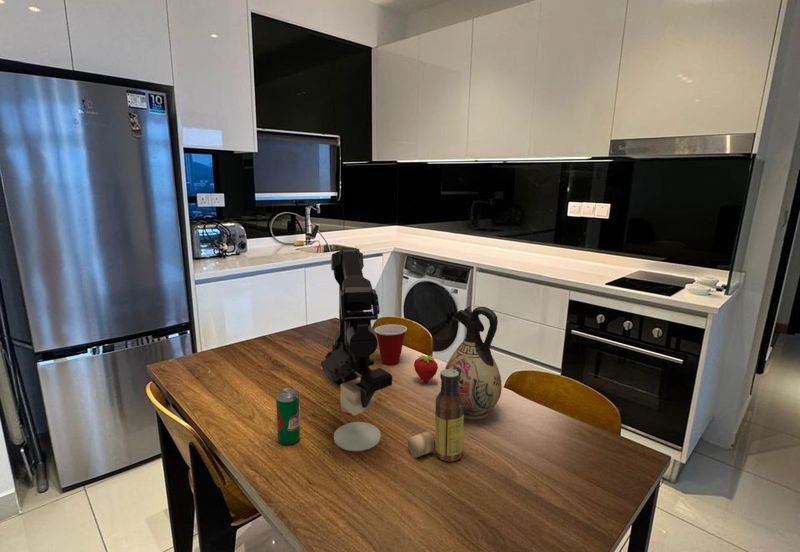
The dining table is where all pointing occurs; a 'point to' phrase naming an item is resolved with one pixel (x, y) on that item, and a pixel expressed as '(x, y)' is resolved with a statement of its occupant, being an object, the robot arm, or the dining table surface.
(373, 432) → the coaster
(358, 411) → the maple block
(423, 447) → the beech cylinder
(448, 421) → the sauce bottle
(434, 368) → the strawberry
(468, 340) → the ceramic jug
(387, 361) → the plastic cup
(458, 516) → the dining table surface
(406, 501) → the dining table surface
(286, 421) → the soda can
